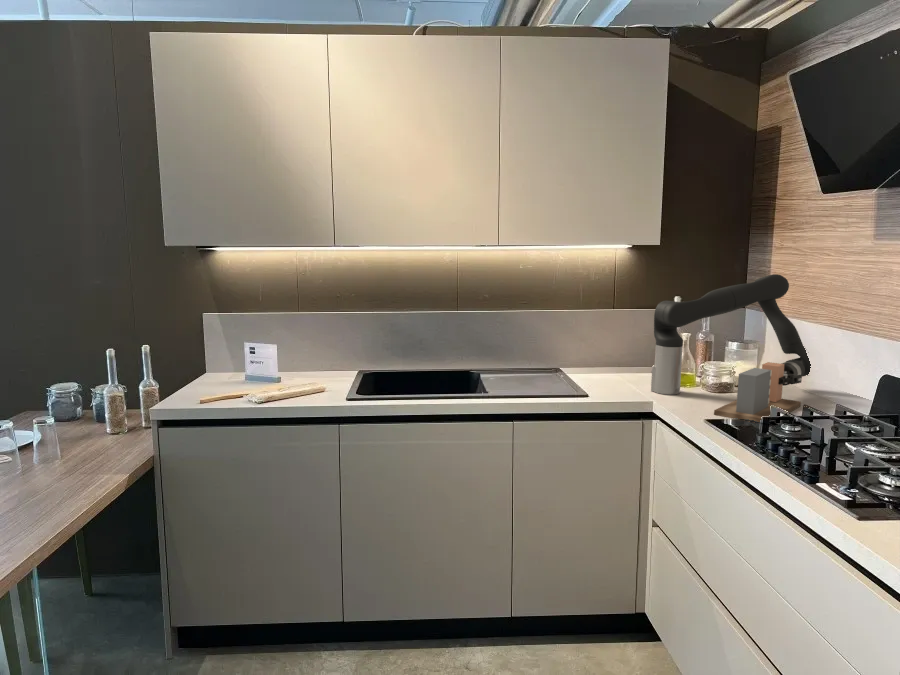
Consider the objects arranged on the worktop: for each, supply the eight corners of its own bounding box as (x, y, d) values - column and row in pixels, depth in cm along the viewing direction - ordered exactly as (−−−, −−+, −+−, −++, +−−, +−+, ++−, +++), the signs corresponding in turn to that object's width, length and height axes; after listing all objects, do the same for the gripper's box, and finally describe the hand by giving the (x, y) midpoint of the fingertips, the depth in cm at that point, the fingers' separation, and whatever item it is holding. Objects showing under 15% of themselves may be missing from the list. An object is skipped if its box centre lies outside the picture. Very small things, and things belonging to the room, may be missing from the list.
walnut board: (713, 414, 194) (714, 410, 194) (750, 397, 217) (750, 393, 216) (768, 425, 183) (769, 420, 183) (800, 406, 206) (800, 401, 205)
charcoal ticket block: (736, 411, 192) (738, 373, 190) (751, 403, 202) (754, 367, 200) (753, 414, 188) (756, 376, 187) (768, 406, 198) (771, 370, 197)
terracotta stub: (759, 399, 207) (762, 364, 206) (765, 396, 211) (768, 362, 210) (775, 402, 204) (778, 366, 202) (781, 399, 208) (784, 364, 206)
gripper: (765, 360, 222) (748, 366, 210) (810, 365, 212) (795, 372, 200) (763, 380, 223) (747, 387, 211) (808, 386, 213) (793, 394, 201)
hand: (770, 380), depth 206 cm, fingers closed on terracotta stub, 5 cm apart
